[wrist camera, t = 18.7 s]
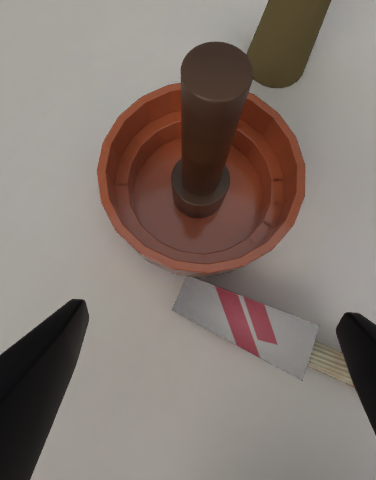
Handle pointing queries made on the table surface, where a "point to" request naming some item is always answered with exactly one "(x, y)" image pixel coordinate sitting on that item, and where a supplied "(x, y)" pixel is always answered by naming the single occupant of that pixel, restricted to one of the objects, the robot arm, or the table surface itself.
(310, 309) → the table surface
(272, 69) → the olive game pawn
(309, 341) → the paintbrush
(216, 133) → the pestle
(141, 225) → the bowl
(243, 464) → the table surface
